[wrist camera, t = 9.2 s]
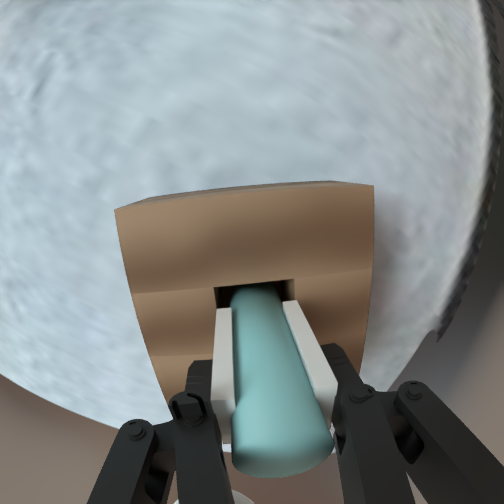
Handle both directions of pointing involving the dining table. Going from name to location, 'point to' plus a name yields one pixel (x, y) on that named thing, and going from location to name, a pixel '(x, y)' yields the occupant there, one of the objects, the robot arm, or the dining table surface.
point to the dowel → (271, 391)
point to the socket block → (247, 263)
